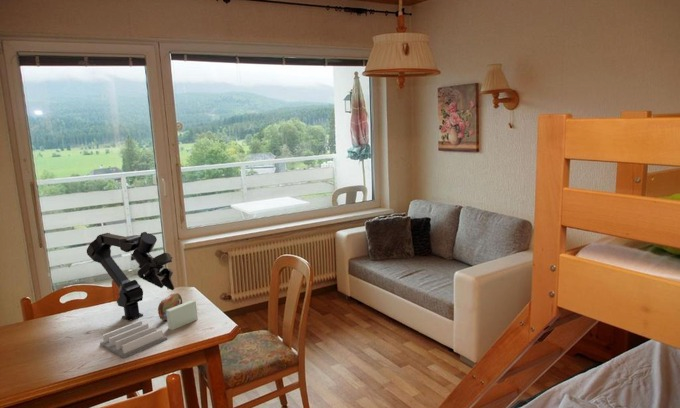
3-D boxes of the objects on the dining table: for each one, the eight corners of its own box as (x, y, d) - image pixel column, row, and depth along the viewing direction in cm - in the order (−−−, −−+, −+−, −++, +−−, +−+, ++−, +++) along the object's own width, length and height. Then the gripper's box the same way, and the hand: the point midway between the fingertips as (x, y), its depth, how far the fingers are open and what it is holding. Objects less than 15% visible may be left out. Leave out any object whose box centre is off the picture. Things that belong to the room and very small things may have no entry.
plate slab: (168, 328, 189) (165, 310, 188) (194, 318, 198) (192, 300, 197) (171, 330, 188) (169, 311, 186) (197, 319, 197) (195, 301, 195)
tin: (165, 323, 195) (162, 304, 193) (158, 323, 195) (155, 304, 194) (183, 308, 209) (181, 290, 207) (177, 308, 210) (175, 290, 208)
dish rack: (100, 345, 178) (98, 335, 178) (142, 328, 191) (141, 318, 191) (123, 358, 167) (121, 347, 166) (167, 339, 180) (165, 329, 179)
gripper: (149, 242, 183) (172, 270, 179) (171, 250, 201) (193, 276, 197) (126, 262, 182) (150, 291, 178) (151, 269, 200) (173, 296, 195)
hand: (168, 288), depth 187 cm, fingers open, 9 cm apart
